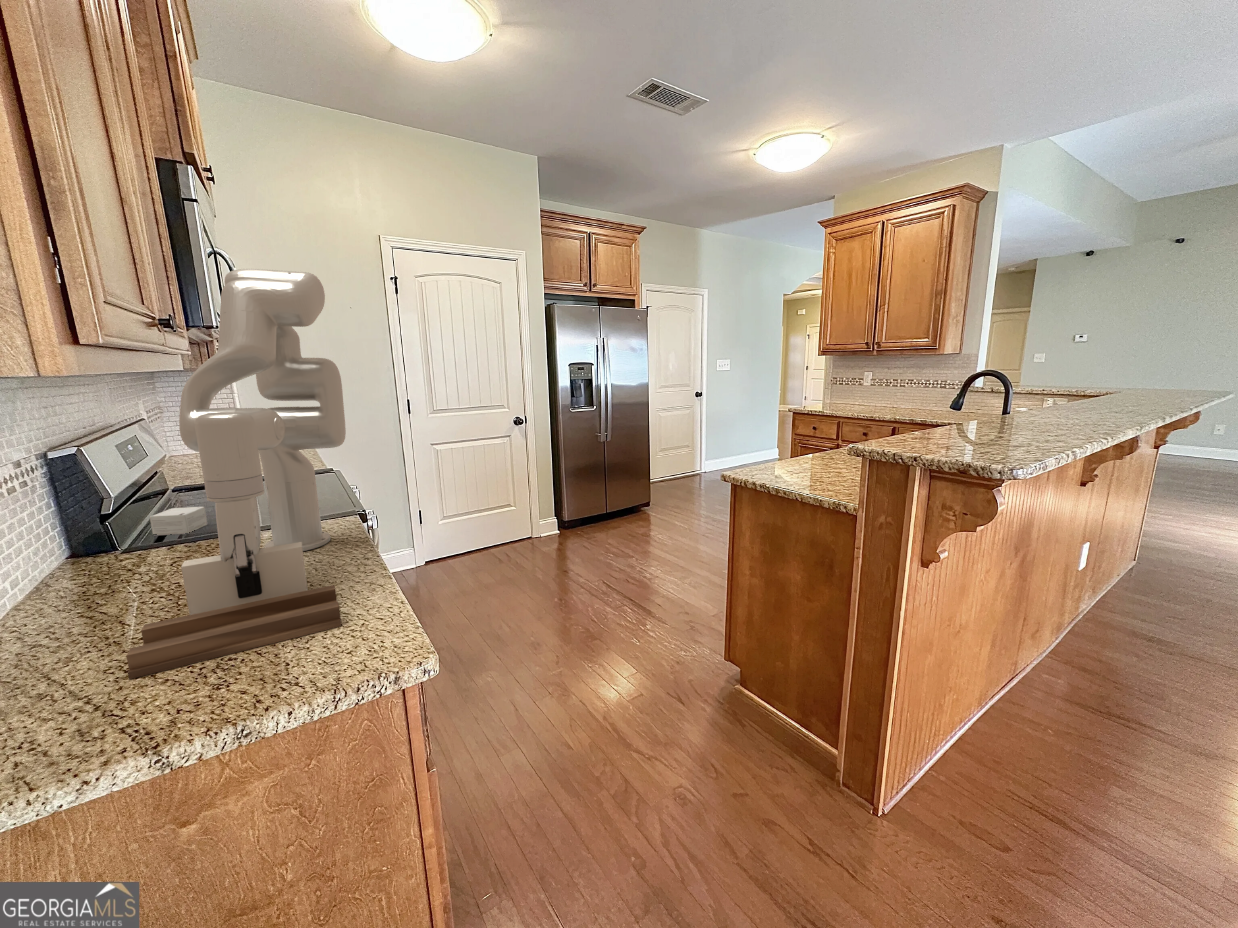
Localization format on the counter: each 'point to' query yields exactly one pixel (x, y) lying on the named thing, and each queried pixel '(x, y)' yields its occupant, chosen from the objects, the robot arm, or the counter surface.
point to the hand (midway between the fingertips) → (251, 590)
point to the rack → (232, 630)
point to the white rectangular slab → (216, 582)
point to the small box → (178, 520)
